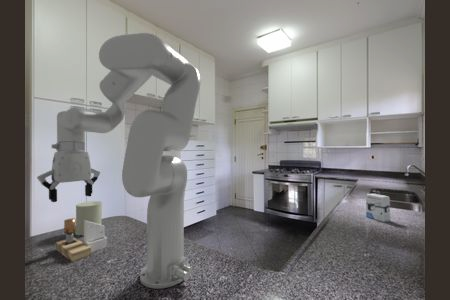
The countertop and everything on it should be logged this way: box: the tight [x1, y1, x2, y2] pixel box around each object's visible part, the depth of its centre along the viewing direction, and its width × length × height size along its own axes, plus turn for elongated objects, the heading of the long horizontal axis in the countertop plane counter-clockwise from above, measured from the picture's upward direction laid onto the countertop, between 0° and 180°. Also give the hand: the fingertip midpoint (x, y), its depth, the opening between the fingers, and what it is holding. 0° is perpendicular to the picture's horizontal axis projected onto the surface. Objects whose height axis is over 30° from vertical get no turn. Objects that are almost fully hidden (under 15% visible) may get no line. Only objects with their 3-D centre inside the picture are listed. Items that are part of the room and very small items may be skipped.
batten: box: [55, 236, 92, 263], centre depth 65 cm, size 14×5×2 cm, turn 56°
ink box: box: [365, 193, 391, 223], centre depth 99 cm, size 8×5×12 cm, turn 17°
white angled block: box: [83, 220, 108, 253], centre depth 67 cm, size 4×10×9 cm
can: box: [74, 200, 103, 236], centre depth 83 cm, size 9×9×12 cm
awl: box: [63, 217, 76, 245], centre depth 67 cm, size 3×3×10 cm
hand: (72, 198), depth 67 cm, fingers open, 9 cm apart
